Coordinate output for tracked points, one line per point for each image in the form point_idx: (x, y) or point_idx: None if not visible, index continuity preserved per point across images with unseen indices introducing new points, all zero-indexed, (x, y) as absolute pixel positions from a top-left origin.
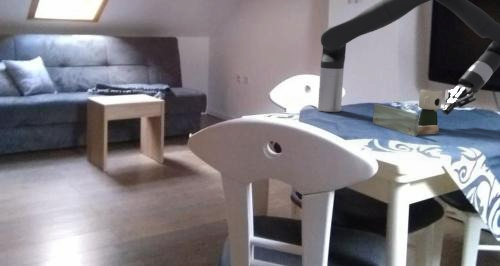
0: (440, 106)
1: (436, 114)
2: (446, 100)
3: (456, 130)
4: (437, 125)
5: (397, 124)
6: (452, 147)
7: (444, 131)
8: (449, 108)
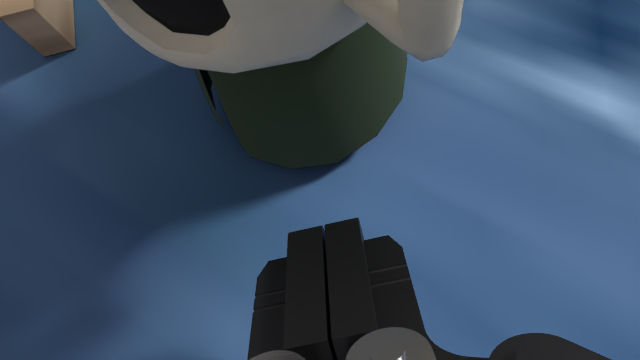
0: (117, 24)
1: (263, 97)
2: (497, 351)
3: (128, 322)
4: (17, 10)
5: None
6: None
7: (108, 160)
8: (257, 298)
